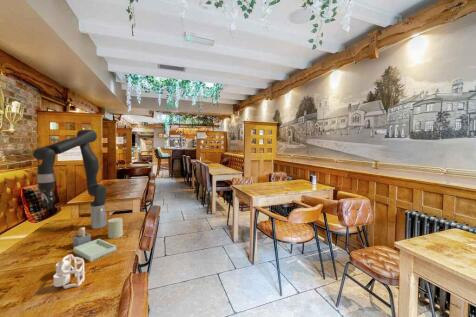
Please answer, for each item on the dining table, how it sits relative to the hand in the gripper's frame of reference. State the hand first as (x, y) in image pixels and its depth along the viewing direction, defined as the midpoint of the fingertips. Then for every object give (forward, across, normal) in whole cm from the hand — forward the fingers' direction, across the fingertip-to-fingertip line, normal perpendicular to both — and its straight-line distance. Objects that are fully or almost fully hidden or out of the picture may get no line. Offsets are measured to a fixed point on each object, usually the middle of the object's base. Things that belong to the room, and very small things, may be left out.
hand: (47, 207), depth 126 cm
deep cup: (+26, -12, -12) cm, 31 cm away
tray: (+26, -28, -12) cm, 40 cm away
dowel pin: (+25, -12, -12) cm, 30 cm away
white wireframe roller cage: (+26, -45, +6) cm, 52 cm away
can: (+26, -16, -31) cm, 44 cm away
